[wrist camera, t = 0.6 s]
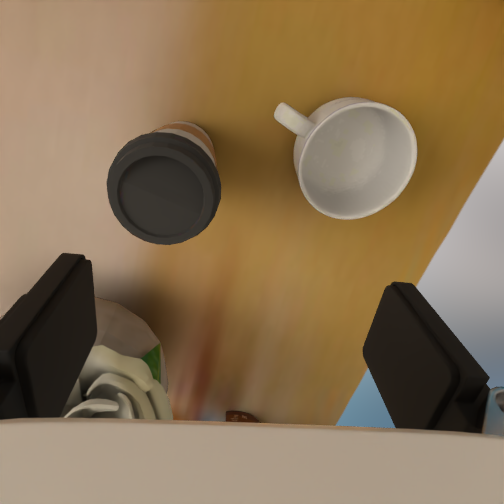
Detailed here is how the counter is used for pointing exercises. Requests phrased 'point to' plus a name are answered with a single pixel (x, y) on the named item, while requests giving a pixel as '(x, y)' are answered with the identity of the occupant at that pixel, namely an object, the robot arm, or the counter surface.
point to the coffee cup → (165, 184)
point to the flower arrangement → (121, 370)
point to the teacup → (351, 155)
